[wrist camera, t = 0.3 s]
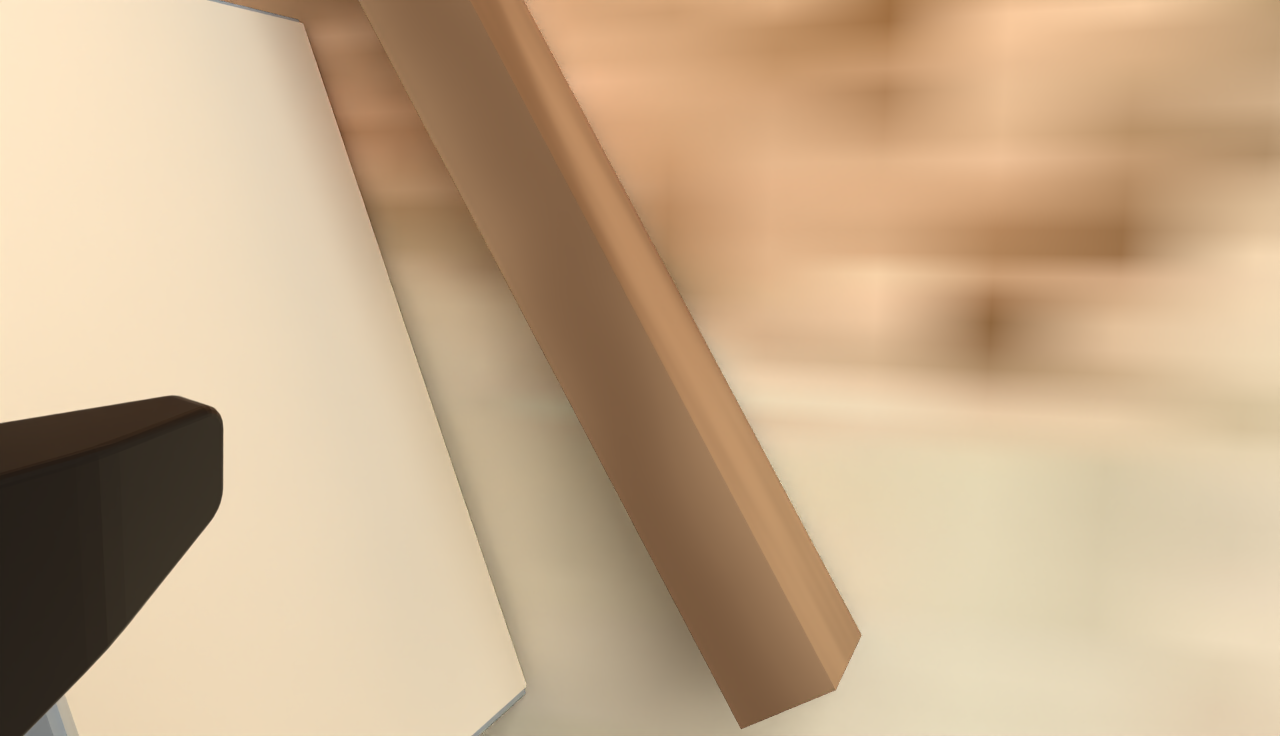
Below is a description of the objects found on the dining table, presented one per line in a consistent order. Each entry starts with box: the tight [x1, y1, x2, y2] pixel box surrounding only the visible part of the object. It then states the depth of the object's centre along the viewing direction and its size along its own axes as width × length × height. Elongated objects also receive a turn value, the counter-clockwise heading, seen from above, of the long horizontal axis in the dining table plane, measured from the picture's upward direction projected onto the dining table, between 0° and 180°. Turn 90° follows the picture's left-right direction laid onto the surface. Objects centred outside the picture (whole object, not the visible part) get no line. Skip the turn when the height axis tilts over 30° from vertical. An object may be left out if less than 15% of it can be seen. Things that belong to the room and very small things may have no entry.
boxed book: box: [0, 0, 527, 736], centre depth 23 cm, size 16×5×12 cm, turn 20°
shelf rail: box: [358, 0, 861, 729], centre depth 24 cm, size 2×30×3 cm, turn 30°
